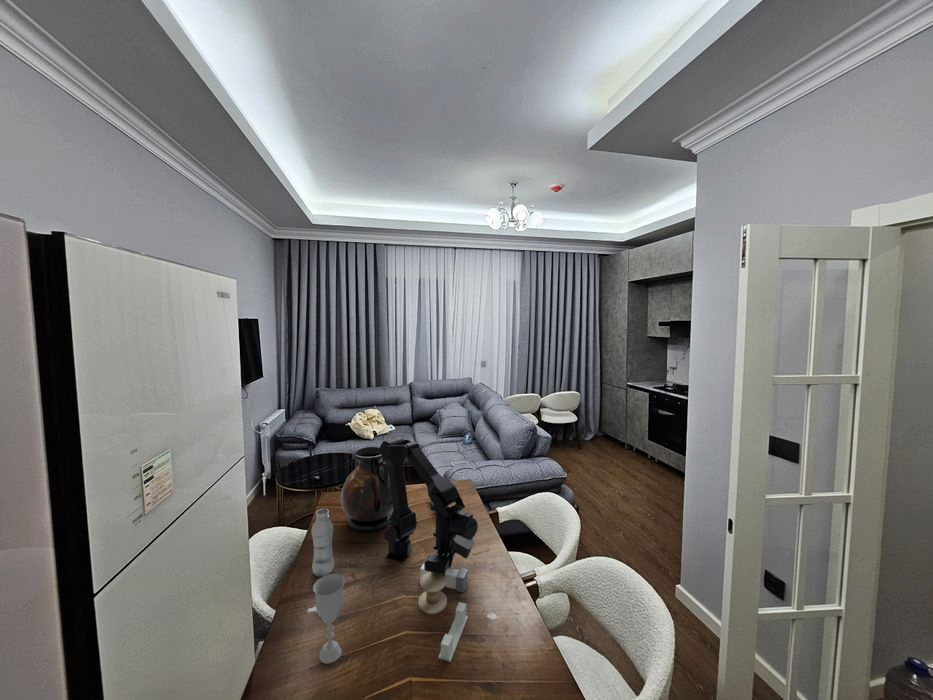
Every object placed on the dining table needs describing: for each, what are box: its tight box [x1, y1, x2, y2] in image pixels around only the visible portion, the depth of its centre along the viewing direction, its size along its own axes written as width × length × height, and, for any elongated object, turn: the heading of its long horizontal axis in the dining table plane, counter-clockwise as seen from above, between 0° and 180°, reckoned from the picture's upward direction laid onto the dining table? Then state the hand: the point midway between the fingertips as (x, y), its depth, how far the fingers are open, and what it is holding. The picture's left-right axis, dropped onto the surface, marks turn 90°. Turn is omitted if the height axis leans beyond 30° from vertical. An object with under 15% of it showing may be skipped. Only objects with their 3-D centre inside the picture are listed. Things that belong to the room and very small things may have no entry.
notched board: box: [438, 601, 469, 663], centre depth 99 cm, size 3×14×4 cm, turn 163°
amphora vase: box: [340, 446, 393, 532], centre depth 151 cm, size 22×22×28 cm
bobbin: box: [417, 572, 448, 615], centre depth 111 cm, size 8×8×7 cm
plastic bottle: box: [310, 508, 335, 578], centre depth 122 cm, size 6×7×20 cm
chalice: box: [312, 573, 346, 664], centre depth 93 cm, size 7×7×18 cm
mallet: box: [419, 561, 469, 593], centre depth 119 cm, size 14×4×4 cm, turn 73°
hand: (445, 576), depth 119 cm, fingers open, 5 cm apart
